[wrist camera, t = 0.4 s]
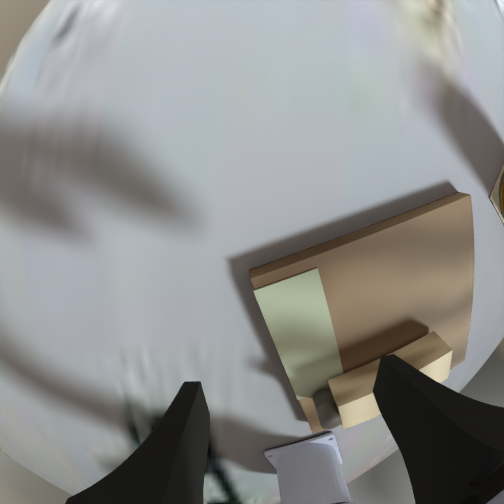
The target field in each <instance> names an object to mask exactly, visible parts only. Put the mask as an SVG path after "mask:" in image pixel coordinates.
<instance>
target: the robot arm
mask: <svg viewBox="0 0 504 504" xmlns="http://www.w3.org/2000/svg"><path fill="white" fill-rule="evenodd" d="M373 394H374V397H375V400H376V403H377V405H378V408H379V411H380V413H381V415H382V417H383V418H384V420H385V422H386V424H387V426H388V428H389V430H390V432H391V434H392V436H393V437H394V439H395V441H396V443H397V445H398V447H399V449H400V451H401V454H402V456H403V459H404V462H405V465H406V468H407V471H408V474H409V478H410V481H411V485H412V489H413V493H414V498H415V502H416V504H504V408H503V407H498V406H493V405H489V404H486V403H483V402H480V401H477V400H474V399H471V398H469V397H466V396H464V395H462V394H459V393H457V392H455V391H453V390H451V389H449V388H447V387H446V386H444V385H442V384H440V383H438V382H437V381H435V380H433V379H432V378H430V377H429V376H427V375H425V374H424V373H422V372H421V371H419V370H418V369H416V368H415V367H413V366H412V365H410V364H409V363H407V362H406V361H404V360H402V359H401V358H399V357H398V356H396V355H394V354H391V355H387V356H383V357H381V359H380V363H379V368H378V372H377V376H376V380H375V383H374V387H373ZM209 436H210V414H209V410H208V407H207V403H206V400H205V396H204V393H203V389H202V385H201V382H200V381H196V382H184V383H183V385H182V386H181V388H180V390H179V392H178V393H177V395H176V397H175V398H174V400H173V402H172V403H171V405H170V406H169V408H168V409H167V411H166V412H165V414H164V415H163V417H162V418H161V420H160V421H159V423H158V424H157V425H156V427H155V428H154V429H153V430H152V432H151V433H150V434H149V436H148V437H147V438H146V439H145V440H144V442H143V443H142V444H141V445H140V446H139V447H138V448H137V449H136V450H135V451H134V452H133V453H132V454H131V455H130V456H129V457H128V458H127V459H126V460H125V461H124V462H123V463H122V464H121V465H120V466H118V467H117V468H116V469H115V470H114V471H112V472H111V473H110V474H108V475H107V476H105V477H104V478H103V479H101V480H100V481H98V482H97V483H95V484H94V485H92V486H91V487H89V488H87V489H85V490H83V491H81V492H80V493H78V494H76V495H74V496H72V497H70V498H68V499H67V501H66V503H65V504H203V485H204V475H205V467H206V459H207V452H208V444H209ZM264 454H265V456H266V458H267V459H268V460H269V461H270V463H271V464H272V465H273V466H274V468H275V469H276V470H277V477H278V484H279V491H280V498H281V504H355V502H354V501H353V502H351V499H350V495H349V492H348V489H347V486H346V482H345V479H344V476H343V473H342V470H341V467H340V465H341V464H342V459H341V456H340V452H339V449H338V446H337V442H336V439H335V435H334V433H332V432H330V433H327V434H324V435H321V436H318V437H315V438H311V439H308V440H305V441H301V442H298V443H294V444H291V445H287V446H283V447H279V448H275V449H271V450H267V451H265V452H264Z"/></svg>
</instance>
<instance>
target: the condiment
mask: <svg viewBox="0 0 504 504" xmlns="http://www.w3.org/2000/svg"><path fill="white" fill-rule="evenodd" d="M490 199H491V201H492V203H493V204H494V207H495V208H496V210H497V212H498V214H499V216H500V218H501V220H502V221H503V223H504V164H503V166H502V168H501V171H500V174H499V176H498V179H497V181H496V183H495V186H494V188H493V190H492V193H491V195H490Z"/></svg>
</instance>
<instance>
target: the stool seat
mask: <svg viewBox="0 0 504 504" xmlns="http://www.w3.org/2000/svg"><path fill="white" fill-rule="evenodd" d="M249 272H250V279H251V282H252V284H253V287H254V289H255V290H253V292H254V294H255V297H256V299H257V302H258V304H259V307H260V309H261V312H262V314H263V317H264V319H265V322H266V324H267V327H268V329H269V332H270V334H271V337H272V339H273V341H274V344H275V346H276V349H277V351H278V354H279V356H280V359H281V361H282V364H283V366H284V368H285V371H286V373H287V376H288V378H289V381H290V383H291V385H292V388H293V390H294V393H295V395H296V397H297V400H299V401H300V404H301V406H302V408H303V411H304V413H305V416H306V418H307V421H308V423H309V425H310V428H311V430H312V433H316V432H319V431H322V430H325V429H324V428H322V427H321V425H320V422H319V418H318V415H317V412H316V409H315V405H314V402H313V395H314V394H315V393H316V392H317V391H319V390H321V389H330V387H329V383H328V380H329V379H332V378H335V377H337V376H340V375H342V374H345V373H347V372H350V371H352V370H355V369H357V368H359V367H362V366H364V365H366V364H369V363H371V362H373V361H375V360H378V359H380V358H381V357H383V356H386V355H388V354H390V353H393V352H395V351H397V350H399V349H401V348H403V347H405V346H407V345H409V344H410V343H412V342H414V341H416V340H418V339H420V338H422V337H424V336H425V335H427V334H429V333H431V332H433V331H434V332H435V333H436V334H437V335H439V336H440V337H441V338H442V339H443V340H444V342H445V343H446V344H447V345H448V346H449V347H450V348H451V349H452V350H453V352H452V358H451V365H450V369H452V368H453V367H455V366H456V365H458V364H459V363H461V362H462V361H464V359H465V353H466V348H467V342H468V336H469V329H470V321H471V312H472V301H473V287H474V229H473V214H472V203H471V195H470V194H465V193H461V192H457V193H455V194H452V195H450V196H447V197H445V198H442V199H440V200H437V201H434V202H432V203H429V204H427V205H424V206H422V207H419V208H416V209H414V210H411V211H408V212H406V213H403V214H401V215H398V216H395V217H393V218H390V219H387V220H385V221H382V222H379V223H377V224H374V225H371V226H369V227H366V228H363V229H361V230H358V231H355V232H353V233H350V234H347V235H345V236H342V237H339V238H336V239H334V240H331V241H328V242H326V243H323V244H320V245H317V246H315V247H312V248H309V249H306V250H304V251H301V252H298V253H295V254H292V255H290V256H287V257H284V258H281V259H278V260H276V261H273V262H270V263H267V264H264V265H262V266H259V267H256V268H253V269H250V270H249Z"/></svg>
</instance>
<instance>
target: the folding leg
mask: <svg viewBox="0 0 504 504" xmlns="http://www.w3.org/2000/svg"><path fill="white" fill-rule="evenodd" d="M452 352H453V350H452V349H451V348H450V347H449V346H448V345H447V344H446V343H445V342H444V340H443V339H442V338H441V337H440V336H439V335H437V334H436V333H435V332H434V331H433V332H431V333H429V334H427V335H425V336H424V337H422V338H420V339H418V340H416V341H414V342H412V343H410V344H409V345H407V346H405V347H403V348H401V349H399V350H397V351H395V352H393V353H390V354H388V355H391V354H394V355H396V356H398V357H399V358H401V359H402V360H404V361H406V362H407V363H409V364H410V365H412V366H413V367H415V368H416V369H418V370H419V371H421V372H422V373H424V374H425V375H427V376H429V377H430V378H432V379H433V380H435V381H437V382H438V383H440V382H442V381H444V380H445V379H447V378H448V376H449V370H450V365H451V358H452ZM386 356H387V355H386ZM380 359H381V358H380ZM380 359H378V360H375V361H373V362H371V363H369V364H366V365H364V366H362V367H359V368H357V369H355V370H352V371H350V372H347V373H345V374H342V375H340V376H337V377H335V378H332V379H329V380H328V383H329V387H330V389H321V390H319V391H317V392H316V393H315V394H314V395H313V402H314V405H315V409H316V412H317V415H318V418H319V422H320V425H321V427H322V428H324V429H331V428H335V427H337V426H339V425H340V424H342V427H343V429H347V428H349V427H352V426H354V425H357V424H359V423H362V422H364V421H366V420H369V419H371V418H373V417H376V416H378V415H380V414H381V413H380V411H379V408H378V405H377V403H376V400H375V397H374V394H373V387H374V383H375V380H376V376H377V372H378V368H379V363H380Z"/></svg>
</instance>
